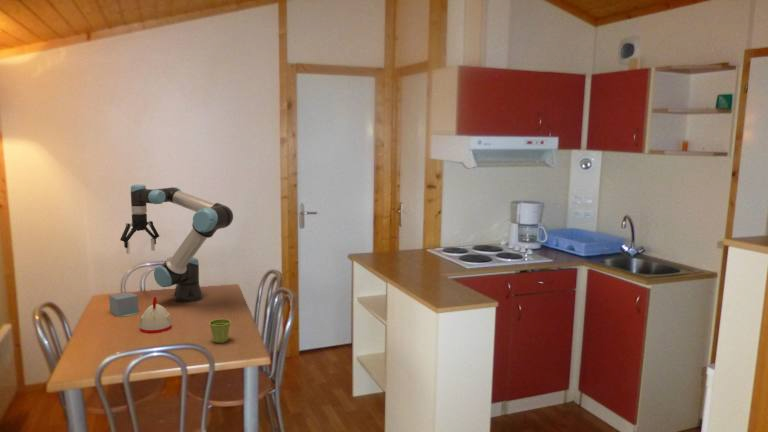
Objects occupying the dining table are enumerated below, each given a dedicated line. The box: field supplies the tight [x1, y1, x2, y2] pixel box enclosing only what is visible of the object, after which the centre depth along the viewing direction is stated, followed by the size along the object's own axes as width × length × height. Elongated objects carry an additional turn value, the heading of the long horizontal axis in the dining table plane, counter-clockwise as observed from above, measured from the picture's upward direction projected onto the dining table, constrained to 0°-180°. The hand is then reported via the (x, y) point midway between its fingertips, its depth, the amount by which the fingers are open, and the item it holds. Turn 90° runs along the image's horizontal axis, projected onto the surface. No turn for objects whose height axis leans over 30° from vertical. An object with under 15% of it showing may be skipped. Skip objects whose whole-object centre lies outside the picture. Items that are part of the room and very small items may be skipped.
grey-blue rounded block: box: [108, 291, 140, 318], centre depth 292 cm, size 10×10×9 cm
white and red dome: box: [139, 297, 172, 334], centre depth 268 cm, size 14×14×15 cm
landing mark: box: [112, 311, 140, 318], centre depth 291 cm, size 12×12×1 cm
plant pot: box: [208, 318, 232, 344], centre depth 254 cm, size 9×9×9 cm
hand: (140, 252), depth 311 cm, fingers open, 13 cm apart
